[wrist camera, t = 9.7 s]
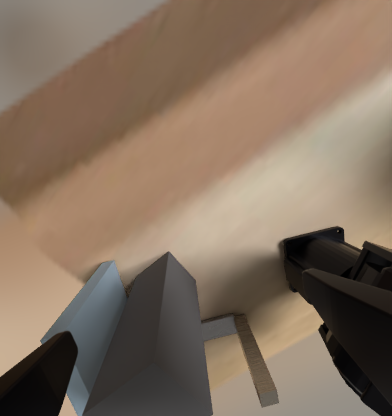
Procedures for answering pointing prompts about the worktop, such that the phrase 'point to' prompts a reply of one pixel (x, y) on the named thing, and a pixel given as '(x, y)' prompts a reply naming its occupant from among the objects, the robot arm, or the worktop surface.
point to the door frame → (250, 349)
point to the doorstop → (155, 350)
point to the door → (91, 328)
